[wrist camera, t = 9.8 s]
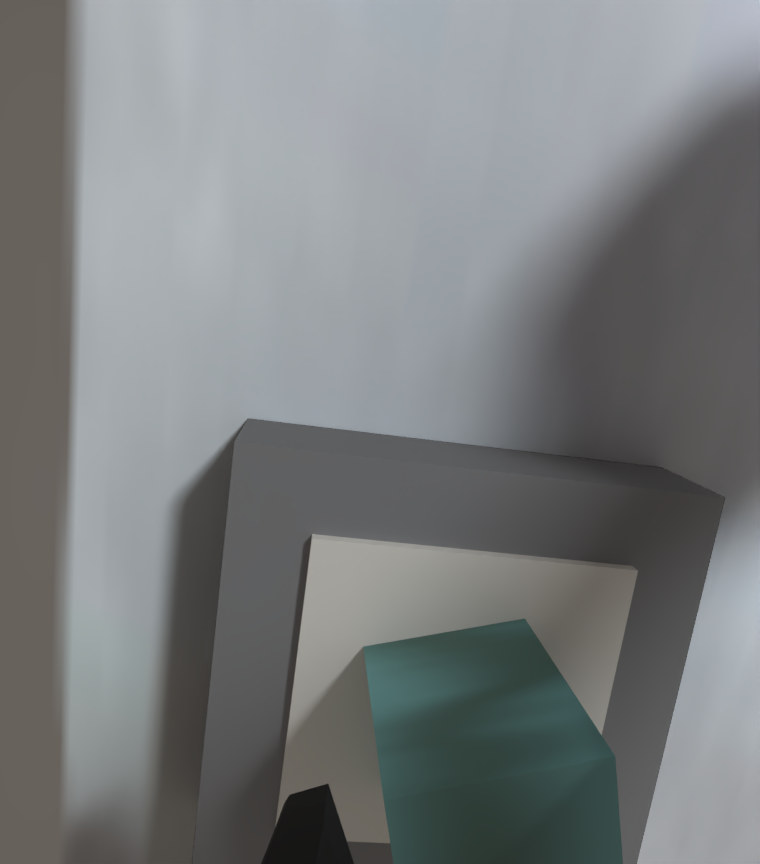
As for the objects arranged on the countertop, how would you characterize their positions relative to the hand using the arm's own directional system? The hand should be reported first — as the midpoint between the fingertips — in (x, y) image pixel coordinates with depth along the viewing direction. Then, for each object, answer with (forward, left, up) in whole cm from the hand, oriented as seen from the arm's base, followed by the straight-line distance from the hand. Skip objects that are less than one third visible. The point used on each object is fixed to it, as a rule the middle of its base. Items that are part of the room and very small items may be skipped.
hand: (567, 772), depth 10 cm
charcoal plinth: (0, +3, -9) cm, 10 cm away
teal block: (0, +3, -6) cm, 7 cm away
